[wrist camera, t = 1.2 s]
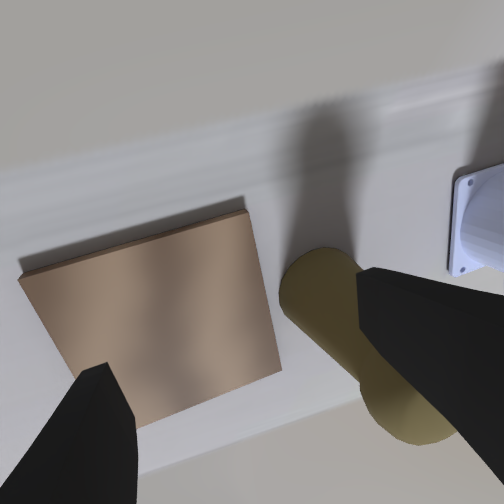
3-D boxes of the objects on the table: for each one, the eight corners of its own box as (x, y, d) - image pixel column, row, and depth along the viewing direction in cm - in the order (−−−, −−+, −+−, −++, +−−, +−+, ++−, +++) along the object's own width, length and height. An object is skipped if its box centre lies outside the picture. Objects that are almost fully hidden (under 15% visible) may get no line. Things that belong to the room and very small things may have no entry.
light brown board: (244, 209, 19) (248, 212, 18) (277, 362, 24) (282, 370, 23) (22, 273, 16) (17, 279, 16) (111, 429, 21) (110, 439, 21)
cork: (261, 303, 22) (359, 452, 12) (317, 230, 21) (472, 324, 11) (319, 337, 24) (439, 482, 14) (371, 274, 24) (533, 381, 14)
